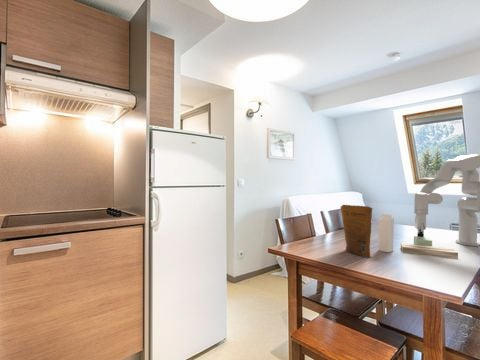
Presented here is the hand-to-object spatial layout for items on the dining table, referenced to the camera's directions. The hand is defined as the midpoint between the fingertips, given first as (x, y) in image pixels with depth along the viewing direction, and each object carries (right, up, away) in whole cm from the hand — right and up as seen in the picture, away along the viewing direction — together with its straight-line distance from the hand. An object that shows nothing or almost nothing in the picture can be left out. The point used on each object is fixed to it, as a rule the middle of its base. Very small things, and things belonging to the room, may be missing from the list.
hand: (420, 239), depth 173 cm
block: (-3, -4, -6) cm, 8 cm away
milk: (-31, -4, -15) cm, 34 cm away
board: (-9, -4, -18) cm, 21 cm away
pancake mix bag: (-52, -3, -22) cm, 57 cm away
